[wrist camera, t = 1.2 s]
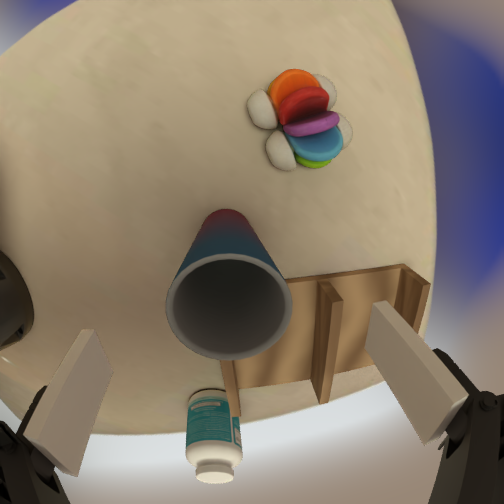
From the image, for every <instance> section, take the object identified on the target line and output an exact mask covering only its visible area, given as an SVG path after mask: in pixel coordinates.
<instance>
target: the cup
mask: <svg viewBox="0 0 504 504" xmlns="http://www.w3.org/2000/svg"><path fill="white" fill-rule="evenodd" d="M292 305H293V302H292V297H291V292H290V290H289V288H288V285H287V283H286V281H285V280H284V278H283V276H282V275H281V273H280V272H279V270H278V268H277V267H276V265H275V264H274V262H273V260H272V259H271V257H270V256H269V254H268V252H267V251H266V249H265V248H264V246H263V245H262V243H261V241H260V240H259V238H258V237H257V235H256V233H255V232H254V230H253V229H252V227H251V226H250V224H249V222H248V221H247V219H246V218H245V217H244V216H243V215H242V214H241V213H239V212H237V211H235V210H232V209H221V210H217V211H215V212H213V213H212V214H210V215H209V216H208V217H207V218H206V220H205V222H204V223H203V225H202V227H201V229H200V231H199V233H198V234H197V236H196V238H195V240H194V242H193V244H192V246H191V248H190V249H189V251H188V253H187V255H186V257H185V259H184V261H183V263H182V265H181V267H180V269H179V271H178V273H177V275H176V276H175V278H174V280H173V282H172V284H171V286H170V288H169V290H168V294H167V298H166V315H167V319H168V323H169V325H170V327H171V329H172V331H173V333H174V334H175V335H176V337H177V338H178V339H179V340H180V341H181V342H182V343H183V344H184V345H185V346H186V347H187V348H189V349H191V350H192V351H194V352H196V353H198V354H200V355H202V356H205V357H208V358H212V359H217V360H228V361H230V360H241V359H245V358H249V357H252V356H255V355H257V354H260V353H262V352H264V351H265V350H267V349H268V348H270V347H271V346H272V345H274V344H275V343H276V342H277V341H278V340H279V339H280V338H281V336H282V335H283V334H284V333H285V331H286V329H287V327H288V325H289V323H290V319H291V315H292Z"/></svg>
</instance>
